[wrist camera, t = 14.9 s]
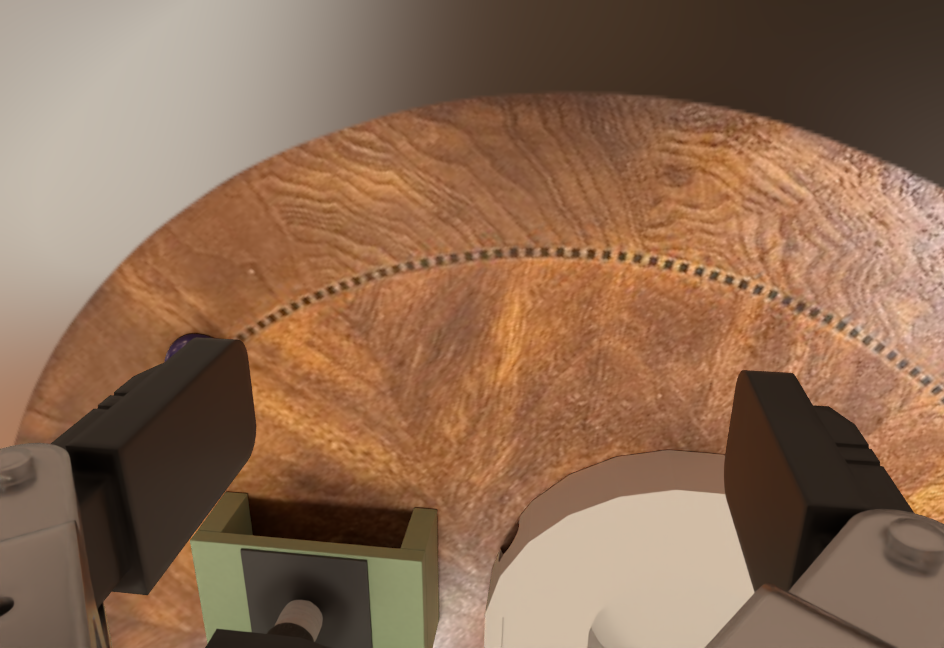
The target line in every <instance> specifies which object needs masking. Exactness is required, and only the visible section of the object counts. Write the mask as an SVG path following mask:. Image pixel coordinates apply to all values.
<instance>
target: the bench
mask: <svg viewBox="0 0 944 648" xmlns="http://www.w3.org/2000/svg"><path fill="white" fill-rule="evenodd" d="M190 544H191V549H192V555H193V561H194V567H195V573H196V579H197V585H198V590H199V596H200V602H201V608H202V614H203V620H204V625H205V631H206V637H207V643H208V642H209V641H210V639H211V637H212V636H213V634H214V632H215V631H216V629H225V630H235V631H244V632H254V633H263V634H266V633H267V632H268V631H269V630H270V629H271V628H272V627H274V626H275V624H276V622H277V620H278V618H279V616H280V614H281V612H282V610H283V609H284V608H285V606H286V605H287V604H288V603H289V602H291V601H294V600H306V601H310V602H312V603H313V604H314V605H315V606H317V607H318V609H319V610H320V612H321V613H322V617H323V621H322V627H321V629H320V631H319V634H318V636H317V639H316V640H315V642H316V643H318V644H321V645H324V646H327V647H330V648H433V643H434V639H435V635H436V630H437V626H438V622H439V592H438V535H437V510H435V509H423V508H414V510H413V513H412V516H411V519H410V522H409V524H408V527H407V530H406V533H405V536H404V539H403V542H402V545H401V548H400V549H397V548H386V547H375V546H364V545H353V544H342V543H331V542H320V541H309V540H298V539H287V538H276V537H265V536H254V535H253V532H252V525H251V517H250V510H249V502H248V494H245V493H233V492H226V493H225V494H224V495H223V497H222V498H221V499H220V501H219V502H218V503H217V505H216V506H215V507H214V509H213V510H212V511H211V513H210V514H209V516H208V517H207V518H206V520H205V521H204V522H203V524H202V525H201V526H200V528H199V529H198V531H197V532H196V533H195V534H194V536H193V537H192V539H191V540H190ZM205 648H206V647H205Z"/></svg>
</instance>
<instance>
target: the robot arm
mask: <svg viewBox="0 0 944 648" xmlns="http://www.w3.org/2000/svg"><path fill="white" fill-rule="evenodd" d="M255 437H256V419H255V411H254V403H253V394H252V386H251V378H250V370H249V361H248V354H247V350H246V347H245V345H244V344H243V342H242V341H240V340H233V339H215V338H198V337H196V338H193V339H192V340H190V341H189V342H188V343H187V344H186V345H184V346H183V347H182V348H181V349H180V350H178V351H177V352H176V353H175V354H174V355H172V356H171V357H170V358H169V359H168V360H166V361H165V362H164V363H162V364H160V365H158V366H155V367H153V368H151V369H149V370H147V371H144V372H142V373H140V374H138V375H136V376H133V377H132V378H131V379H130V380H129V381H127V382H126V383H125V384H124V385H122V386H121V387H120V388H119V389H117V390H116V391H115V392H114V396H112V395H110V396H109V397H108V398H106V399H105V400H104V401H103V402H101V403H100V404H99V405H98V409H93V410H92V411H90V412H89V413H88V414H87V415H85V416H84V417H83V418H82V419H81V420H79V421H78V422H77V423H76V424H74V425H73V426H72V427H71V428H69V429H68V430H67V431H66V432H65V433H63V434H62V435H61V436H60V437H58V438H57V439H56V440H55V441H53V442H52V443H51V444H45V443H29V444H21V445H15V446H10V447H6V448H2V449H0V648H112V643H111V637H110V631H109V625H108V619H107V615H106V611H105V606H104V602H103V601H104V600H105V599H106V598H107V597H108V595H109V594H110V593H111V592H122V593H131V594H141V595H148V594H149V593H150V591H151V590H152V589H153V587H154V586H155V585H156V583H157V582H158V581H159V579H160V578H161V577H162V575H163V574H164V573H165V571H166V570H167V569H168V567H169V566H170V565H171V563H172V562H173V561H174V559H175V558H176V556H177V555H178V554H179V552H180V551H181V550H182V548H183V547H184V546H185V544H186V543H187V542H188V540H189V539H190V538H191V536H192V535H193V534H194V532H195V531H196V530H197V528H198V527H199V526H200V524H201V523H202V521H203V520H204V519H205V517H206V516H207V515H208V513H209V512H210V511H211V509H212V508H213V507H214V505H215V504H216V503H217V501H218V500H219V499H220V497H221V496H222V495H223V493H224V492H225V491H226V489H227V488H228V487H229V485H230V484H231V482H232V481H233V480H234V478H235V477H236V476H237V474H238V473H239V472H240V470H241V469H242V468H243V466H244V465H245V464H246V462H247V461H248V459H249V458H250V456H251V453H252V451H253V447H254V443H255ZM724 488H725V495H726V500H727V503H728V506H729V510H730V513H731V516H732V520H733V523H734V526H735V530H736V533H737V536H738V540H739V543H740V546H741V550H742V553H743V556H744V560H745V563H746V566H747V570H748V573H749V576H750V580H751V583H752V586H753V590H754V594H753V595H752V596H751V597H750V598H749V599H748V601H747V602H746V603H745V604H744V605H743V606H742V607H741V608H740V609H739V610H738V612H737V613H736V614H735V615H734V616H733V617H732V618H731V619H730V620H729V621H728V622H727V624H726V625H725V626H724V627H723V628H722V629H721V630H720V631H719V632H718V633H717V635H716V636H715V637H714V638H713V639H712V640H711V641H710V642H709V643H708V644H707V645H706V647H705V648H944V524H942V523H940V522H938V521H936V520H933V519H930V518H928V517H925V516H922V515H918V514H915V513H914V512H913V511H912V509H911V508H910V506H909V505H908V503H907V502H906V500H905V499H904V497H903V496H902V494H901V493H900V491H899V490H898V488H897V487H896V485H895V484H894V482H893V481H892V479H891V478H890V476H889V475H888V473H887V472H886V470H885V469H884V467H883V466H880V461H879V460H878V458H877V457H876V455H875V454H874V452H873V451H872V449H869V445H868V443H867V442H866V440H865V439H864V437H863V436H862V434H861V433H860V431H859V430H858V428H857V427H856V425H855V424H853V423H852V422H850V421H849V420H848V419H846V418H845V417H843V416H842V415H840V414H839V413H838V412H836V411H835V410H833V409H832V408H830V407H829V406H813V405H812V403H811V402H810V400H809V398H808V397H807V395H806V393H805V391H804V390H803V388H802V386H801V385H800V383H799V381H798V380H797V378H796V376H795V375H794V374H793V373H783V372H766V371H748V370H742V371H741V372H740V374H739V376H738V379H737V383H736V388H735V395H734V401H733V408H732V414H731V421H730V427H729V434H728V440H727V447H726V454H725V461H724ZM206 648H330V647H327V646H324V645H321V644H318V643H316V642H313V641H310V640H307V639H304V638H300V637H291V636H282V635H272V634H263V633H254V632H244V631H235V630H225V629H216V631H215V632H214V634H213V636H212V637H211V639H210V641H209V642H208V644H207V646H206Z"/></svg>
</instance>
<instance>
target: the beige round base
mask: <svg viewBox="0 0 944 648" xmlns="http://www.w3.org/2000/svg"><path fill="white" fill-rule="evenodd" d="M724 461H725V455H722V454H711V453H699V452H687V451H676V450H664V451H656V452H649V453H642V454H634V455H627V456H619V457H615V458H612V459H609V460H607V461H604V462H602V463H599V464H596V465H594V466H591V467H588V468H586V469H583V470H580V471H578V472H575V473H573V474H570V475H568V476H567V477H566V478H564V479H563V480H561V481H560V482H558V483H557V484H556V485H554V486H553V487H551V488H550V489H548V490H547V491H546V492H544V493H543V494H541V495H540V496H538V497H537V498H536V499H534V500H533V501H532V502H531V503H530V504H529V506H528V507H527V508H526V509H525V510H524V512H523V513H522V514H521V516H520V520H519V522H518V523H519V529H518V532H517V535H516V537H515V539H514V540H513V542H512V544H511V545H510V547H509V548H508V550H507V551H506V552H505V553H504V554H503V553H502V551H501V549H500V550H499V553H498V556H497V558H496V561H495V563H494V566H493V569H492V574H491V581H490V587H489V593H488V600H487V606H486V612H485V635H484V648H705V647H706V645H707V644H708V643H709V642H710V641H711V640H712V639H713V638H714V637H715V636H716V635H717V633H718V632H719V631H720V630H721V629H722V628H723V627H724V626H725V625H726V624H727V622H728V621H729V620H730V619H731V618H732V617H733V616H734V615H735V614H736V613H737V612H738V610H739V609H740V608H741V607H742V606H743V605H744V604H745V603H746V602H747V601H748V599H749V598H750V597H751V596H752V595H753V594H754V590H753V586H752V583H751V580H750V576H749V573H748V570H747V566H746V563H745V560H744V556H743V553H742V550H741V546H740V543H739V540H738V536H737V533H736V530H735V526H734V523H733V520H732V516H731V513H730V510H729V506H728V503H727V500H726V495H725V488H724Z"/></svg>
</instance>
